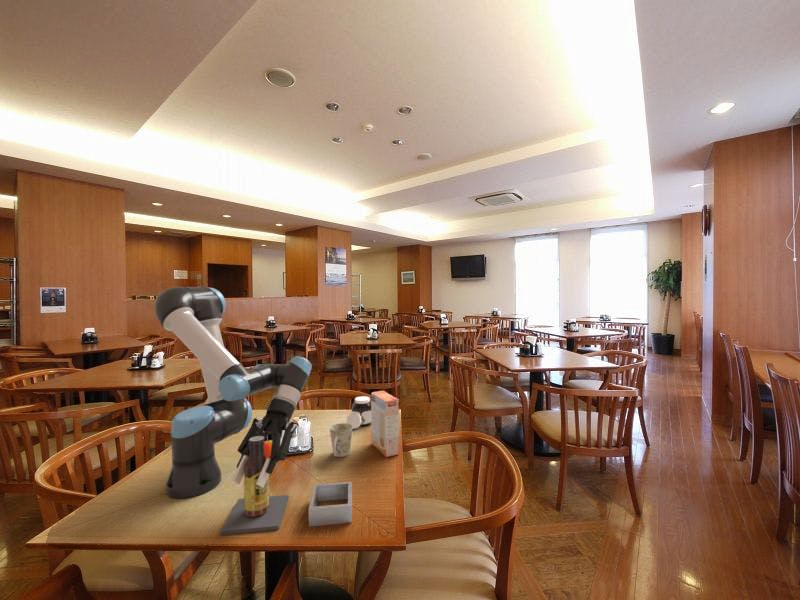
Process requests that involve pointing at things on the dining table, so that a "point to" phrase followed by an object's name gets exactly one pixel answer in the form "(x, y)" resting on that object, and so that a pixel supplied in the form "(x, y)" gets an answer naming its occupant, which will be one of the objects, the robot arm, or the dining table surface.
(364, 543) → the dining table surface
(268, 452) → the clementine
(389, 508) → the dining table surface
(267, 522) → the rubber mat
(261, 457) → the sauce bottle
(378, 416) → the cracker box
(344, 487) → the grey shallow open box
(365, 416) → the spread jar
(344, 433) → the mug
